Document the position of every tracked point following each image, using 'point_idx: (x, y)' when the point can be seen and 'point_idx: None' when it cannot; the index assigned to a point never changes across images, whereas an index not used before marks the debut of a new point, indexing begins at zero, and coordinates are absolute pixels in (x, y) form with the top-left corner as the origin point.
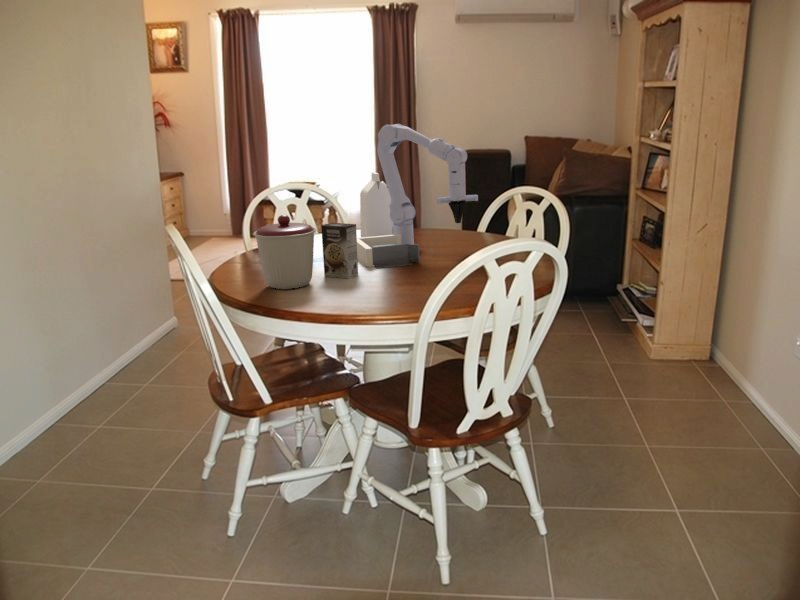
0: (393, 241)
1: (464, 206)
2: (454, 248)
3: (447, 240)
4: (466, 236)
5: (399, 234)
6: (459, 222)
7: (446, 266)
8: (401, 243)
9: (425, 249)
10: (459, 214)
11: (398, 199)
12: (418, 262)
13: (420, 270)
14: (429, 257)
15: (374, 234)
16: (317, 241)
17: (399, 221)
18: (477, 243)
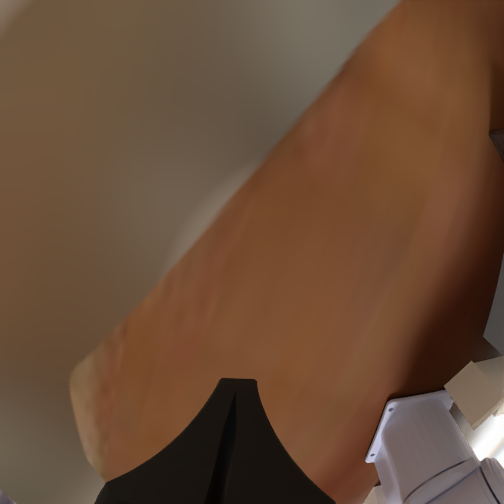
0: (496, 384)
1: (141, 480)
2: (248, 351)
3: None
4: None
5: (482, 416)
6: (232, 380)
7: (414, 6)
8: (454, 401)
9: (370, 378)
10: (224, 433)
11: None
12: (494, 130)
13: (496, 24)
14: (434, 208)
15: None
16: None
17: (496, 461)
18: (125, 387)
